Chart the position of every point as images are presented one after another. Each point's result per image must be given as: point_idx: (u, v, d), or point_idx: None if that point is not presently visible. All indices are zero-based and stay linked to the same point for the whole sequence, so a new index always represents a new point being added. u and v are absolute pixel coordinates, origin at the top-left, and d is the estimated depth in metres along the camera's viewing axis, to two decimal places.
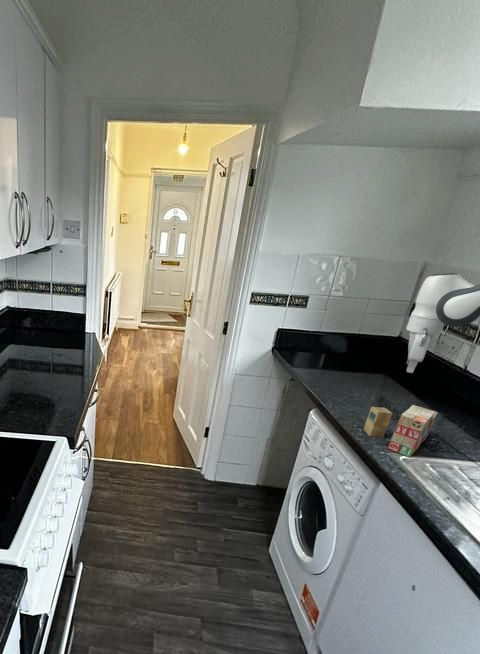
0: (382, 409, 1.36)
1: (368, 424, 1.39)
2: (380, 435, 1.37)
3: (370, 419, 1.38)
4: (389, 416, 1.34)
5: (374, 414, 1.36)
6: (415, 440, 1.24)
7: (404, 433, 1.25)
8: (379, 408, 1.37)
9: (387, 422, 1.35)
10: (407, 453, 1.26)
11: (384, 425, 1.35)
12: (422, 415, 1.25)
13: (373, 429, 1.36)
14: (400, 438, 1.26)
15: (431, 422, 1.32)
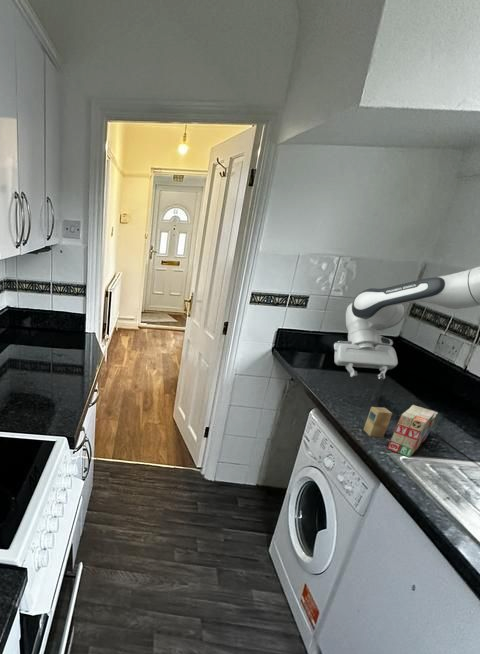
0: (382, 409, 1.36)
1: (368, 424, 1.39)
2: (380, 435, 1.37)
3: (370, 419, 1.38)
4: (389, 416, 1.34)
5: (374, 414, 1.36)
6: (415, 440, 1.24)
7: (404, 433, 1.25)
8: (379, 408, 1.37)
9: (387, 422, 1.35)
10: (407, 453, 1.26)
11: (384, 425, 1.35)
12: (422, 415, 1.25)
13: (373, 429, 1.36)
14: (400, 438, 1.26)
15: (431, 422, 1.32)
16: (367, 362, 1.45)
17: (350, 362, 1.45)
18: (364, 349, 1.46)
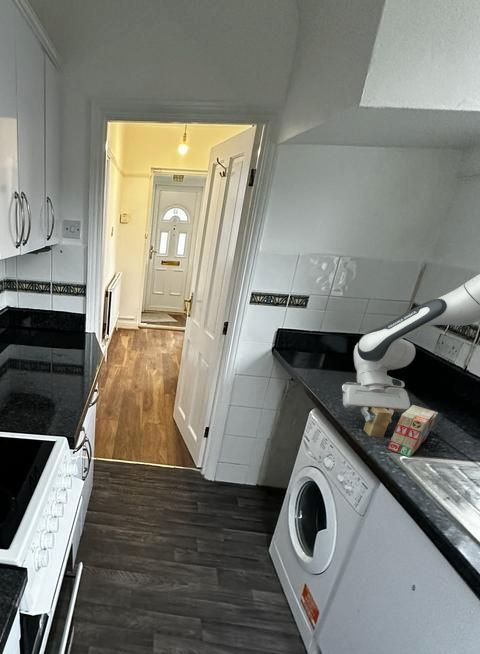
0: (382, 409, 1.36)
1: (368, 424, 1.39)
2: (380, 435, 1.37)
3: None
4: (389, 416, 1.34)
5: (374, 414, 1.36)
6: (415, 440, 1.24)
7: (404, 433, 1.25)
8: (379, 408, 1.37)
9: (387, 422, 1.35)
10: (407, 453, 1.26)
11: (384, 425, 1.35)
12: (422, 415, 1.25)
13: (373, 429, 1.36)
14: (400, 438, 1.26)
15: (431, 422, 1.32)
16: (378, 405, 1.37)
17: (360, 405, 1.38)
18: (374, 391, 1.39)
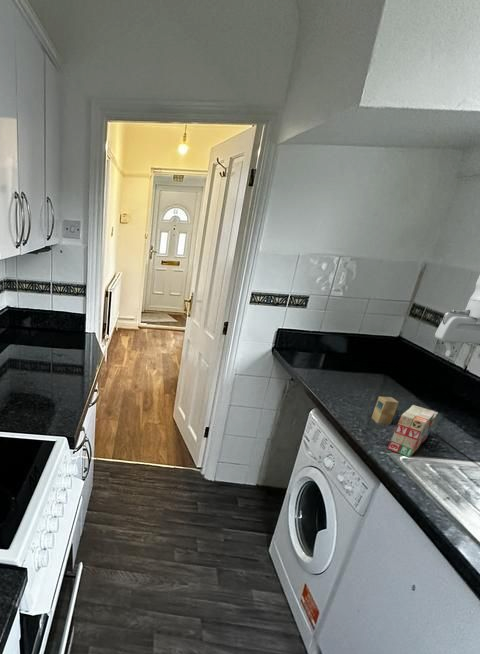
0: (389, 398, 1.45)
1: (376, 413, 1.48)
2: (387, 423, 1.46)
3: (378, 408, 1.47)
4: (396, 405, 1.43)
5: (382, 403, 1.45)
6: (415, 440, 1.24)
7: (404, 434, 1.25)
8: (387, 397, 1.46)
9: (393, 410, 1.44)
10: (407, 453, 1.26)
11: (391, 413, 1.45)
12: (422, 415, 1.25)
13: (381, 417, 1.46)
14: (400, 439, 1.26)
15: (431, 422, 1.32)
16: (475, 342, 1.21)
17: (453, 341, 1.22)
18: None
